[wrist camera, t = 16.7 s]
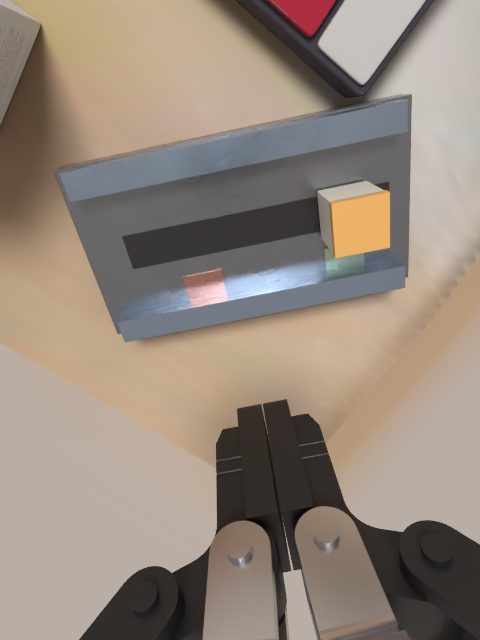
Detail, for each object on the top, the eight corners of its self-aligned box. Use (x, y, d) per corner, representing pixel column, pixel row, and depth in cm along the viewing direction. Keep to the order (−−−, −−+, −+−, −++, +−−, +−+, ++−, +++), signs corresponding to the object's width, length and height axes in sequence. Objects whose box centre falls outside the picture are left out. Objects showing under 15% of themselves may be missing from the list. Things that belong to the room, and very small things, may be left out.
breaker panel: (62, 166, 29) (43, 175, 25) (399, 94, 28) (424, 94, 24) (122, 322, 35) (113, 345, 32) (397, 267, 34) (418, 286, 31)
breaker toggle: (316, 190, 28) (331, 203, 25) (367, 179, 28) (389, 191, 24) (320, 239, 30) (335, 258, 26) (368, 229, 30) (390, 247, 26)
